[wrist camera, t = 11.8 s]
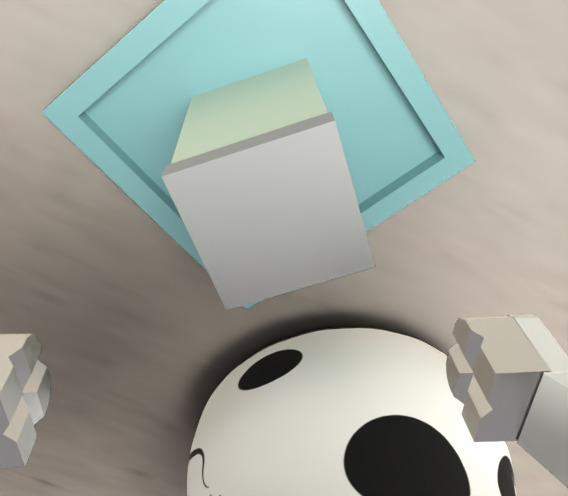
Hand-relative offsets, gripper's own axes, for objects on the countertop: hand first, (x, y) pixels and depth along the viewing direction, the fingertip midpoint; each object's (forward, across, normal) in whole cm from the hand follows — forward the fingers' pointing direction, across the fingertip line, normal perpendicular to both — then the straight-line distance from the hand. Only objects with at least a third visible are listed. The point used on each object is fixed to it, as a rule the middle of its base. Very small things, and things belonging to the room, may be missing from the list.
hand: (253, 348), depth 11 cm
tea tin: (+14, -1, +1) cm, 15 cm away
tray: (+15, -1, +1) cm, 15 cm away
